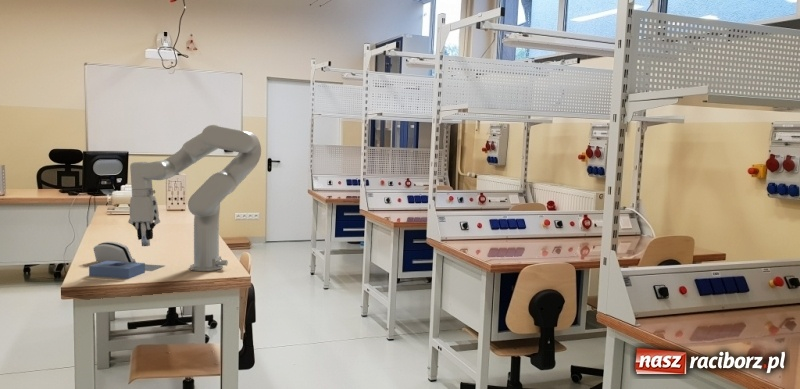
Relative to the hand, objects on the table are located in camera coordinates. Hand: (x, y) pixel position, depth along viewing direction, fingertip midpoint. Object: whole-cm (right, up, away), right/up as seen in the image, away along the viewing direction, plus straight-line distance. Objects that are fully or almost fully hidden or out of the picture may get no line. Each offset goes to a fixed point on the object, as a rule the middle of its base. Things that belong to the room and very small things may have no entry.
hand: (145, 238), depth 227 cm
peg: (0, -3, 0) cm, 3 cm away
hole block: (-5, -13, -12) cm, 18 cm away
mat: (-1, -12, +1) cm, 12 cm away
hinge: (-17, -11, +9) cm, 22 cm away
